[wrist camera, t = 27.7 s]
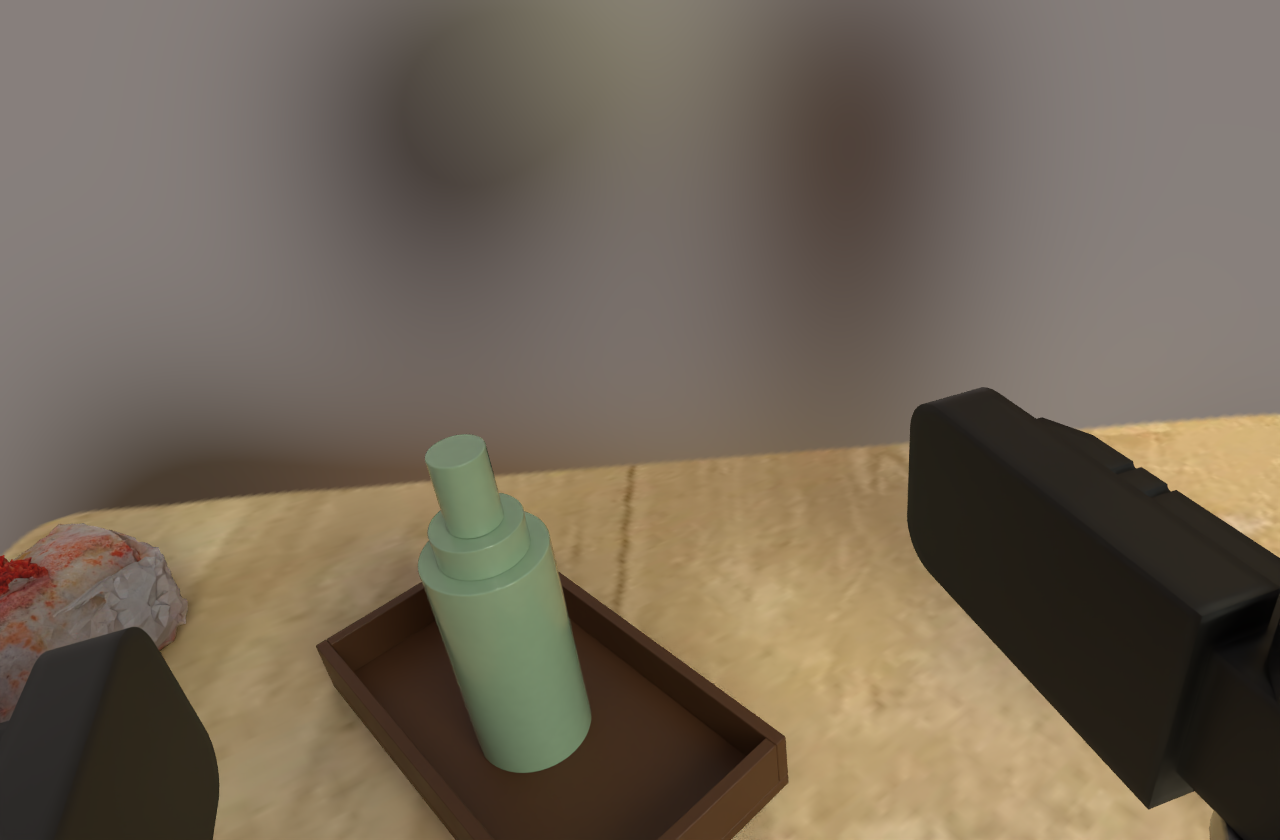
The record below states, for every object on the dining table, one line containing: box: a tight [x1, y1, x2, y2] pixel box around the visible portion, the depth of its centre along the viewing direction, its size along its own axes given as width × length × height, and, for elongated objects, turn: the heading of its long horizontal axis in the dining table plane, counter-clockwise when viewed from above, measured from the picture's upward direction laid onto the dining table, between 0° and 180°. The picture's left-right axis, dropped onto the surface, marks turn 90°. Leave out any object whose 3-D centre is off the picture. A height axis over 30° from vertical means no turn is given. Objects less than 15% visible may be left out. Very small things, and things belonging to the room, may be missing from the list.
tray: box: [316, 572, 788, 840], centre depth 41 cm, size 12×22×3 cm, turn 42°
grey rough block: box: [0, 523, 188, 723], centre depth 45 cm, size 14×8×10 cm, turn 164°
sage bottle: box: [418, 434, 591, 773], centre depth 38 cm, size 6×6×16 cm
